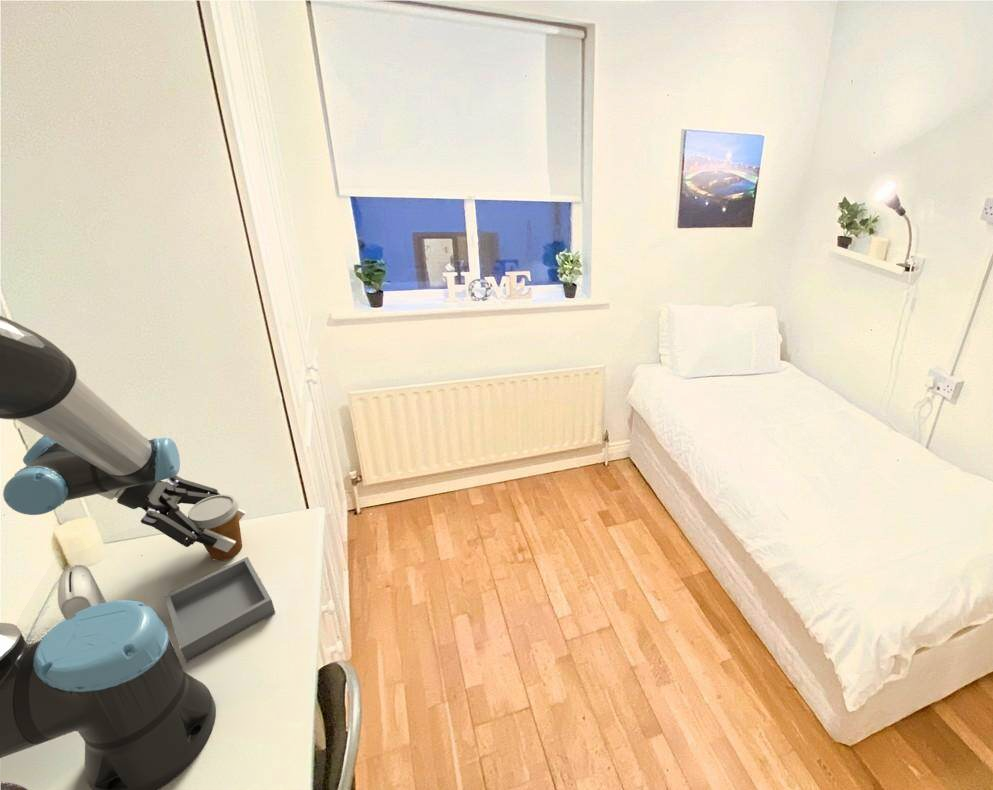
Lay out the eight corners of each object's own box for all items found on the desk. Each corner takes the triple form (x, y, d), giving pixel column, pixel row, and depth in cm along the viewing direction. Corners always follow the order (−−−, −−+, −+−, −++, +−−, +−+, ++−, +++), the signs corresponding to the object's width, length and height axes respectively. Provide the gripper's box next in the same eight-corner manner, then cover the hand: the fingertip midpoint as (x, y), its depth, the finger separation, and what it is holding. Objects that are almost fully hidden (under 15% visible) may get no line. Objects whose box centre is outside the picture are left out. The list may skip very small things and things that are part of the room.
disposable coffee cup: (213, 536, 104) (198, 494, 99) (256, 533, 105) (244, 491, 100) (193, 568, 96) (176, 524, 91) (240, 564, 97) (226, 520, 92)
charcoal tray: (275, 612, 86) (271, 599, 84) (186, 662, 77) (180, 648, 75) (251, 569, 95) (247, 556, 94) (169, 609, 87) (164, 596, 85)
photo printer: (81, 615, 86) (54, 566, 80) (110, 603, 88) (85, 555, 83) (81, 654, 78) (50, 603, 73) (112, 640, 81) (85, 590, 76)
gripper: (140, 467, 99) (238, 511, 109) (88, 534, 80) (213, 580, 90) (160, 442, 98) (257, 489, 109) (112, 504, 79) (235, 554, 89)
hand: (237, 531), depth 99 cm, fingers closed on disposable coffee cup, 9 cm apart
